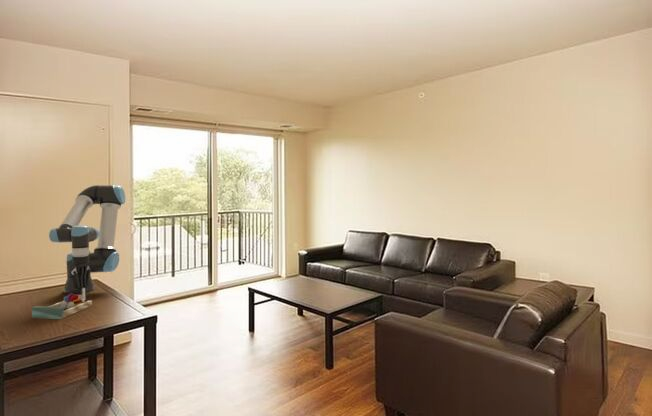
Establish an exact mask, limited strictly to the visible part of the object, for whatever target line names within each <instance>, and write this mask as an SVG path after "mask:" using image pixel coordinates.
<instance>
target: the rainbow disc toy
mask: <svg viewBox="0 0 652 416" xmlns="http://www.w3.org/2000/svg"><path fill="white" fill-rule="evenodd" d="M78 297H79V296H78V293H74V294H72V293H71V294H68V295H66V296H64V297H63V300H62V301H63V302H61V301H60V302H61V304H60V307H64V310H67V309H70V308H72V307H74V306H77V305H79V304H82V303H84V302H85V300H83V299H81V298H78Z"/></svg>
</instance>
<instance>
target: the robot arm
mask: <svg viewBox="0 0 652 416" xmlns="http://www.w3.org/2000/svg"><path fill="white" fill-rule="evenodd" d="M125 202H126V193H125V190H124V188H123V187H122V186H121V185H114V184H113V185H110V184H109V185H107V184H106V185H101V184H100V185H99V184H98V185H91V186H89V187H87V188H85V189H83V190H82V191H81V192H79V194H77V196H76V197H75V202H74V203H73V206H72V207H71V208H70V210H69V211H68V213H67V215H66V216H65V218H64V219H63V221H62V223H61V224H60V225H59V226H58V228H57V227H56V228H52V229H50V230H49V233H48V238H49V240H50V242H52V243H59V244H60V243H71V252H69V253H68V254H67V255H66V260H65V261H66V281H65V284H64V287H63V293H64V294H68V295H69V294H71V293H72V294H78V296H79V297H78V298H81V299H83V300H84V301H86V293H87V292H90V291H94V290H95V284H94V281H93V278H92V277H91V276H92V275H91V273H109V272H111V273H112V272H115V270H116V269H117V268H118V266H119V262H120V253H119V252H118V251H117V249H116V248H115V240H116V231H117V220H118V211H119V210H120V209H121V208H122V205H124V204H125ZM93 205H99V207H100V208H101V214H100V222H99V230H98V229H97V228H96V227H89V226H87V225H80V223H81V222H82V220H83V218H84V217H85V215H86V213H87V212H88V210H89V209H90V208H92V207H93ZM96 240H97V246H96V247H95V248H94V249H93V252H91V250H90V242H94V241H96Z"/></svg>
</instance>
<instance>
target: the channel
mask: <svg viewBox="0 0 652 416" xmlns="http://www.w3.org/2000/svg"><path fill="white" fill-rule="evenodd" d="M63 301H64V300H62V301H59V302H57V303H54V304H52V305H49V306H43V305H41V306H40V305H35V306H32V307H31V318H32V319H45V320H47V319H49V320H62V319H64V318H66V317H68V316H71V315H73V314H75V313H78V312H80V311H83V310H84V309H86V308H89V307H92V306H93V300H87V301H86V300H85V301H84V303H82V304H79V305H77V306H74V307H72V308H70V309H68V308H67V309H64V307H60V304H61V302H63Z"/></svg>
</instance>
